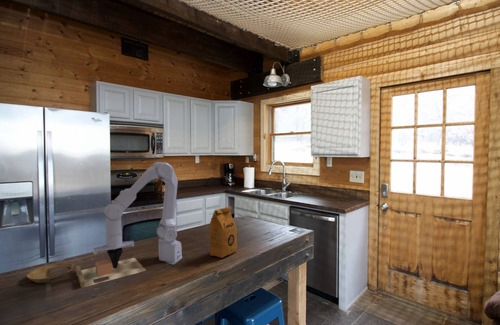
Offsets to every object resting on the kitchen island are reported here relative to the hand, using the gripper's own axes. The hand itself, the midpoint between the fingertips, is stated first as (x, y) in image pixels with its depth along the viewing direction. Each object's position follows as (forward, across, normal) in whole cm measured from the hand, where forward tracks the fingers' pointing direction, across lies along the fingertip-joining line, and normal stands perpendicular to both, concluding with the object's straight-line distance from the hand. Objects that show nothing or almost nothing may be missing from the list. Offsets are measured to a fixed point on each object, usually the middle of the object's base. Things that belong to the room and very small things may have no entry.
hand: (114, 267), depth 109 cm
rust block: (+1, +4, 0) cm, 4 cm away
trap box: (+2, +1, 0) cm, 3 cm away
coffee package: (+2, -45, +11) cm, 46 cm away
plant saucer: (+3, +20, -13) cm, 24 cm away
